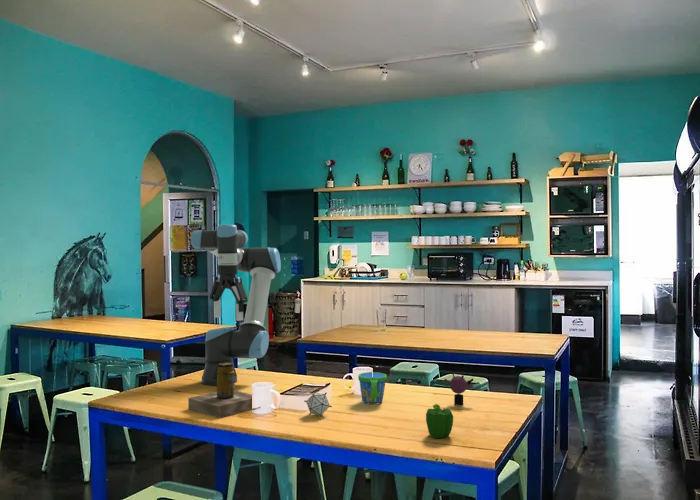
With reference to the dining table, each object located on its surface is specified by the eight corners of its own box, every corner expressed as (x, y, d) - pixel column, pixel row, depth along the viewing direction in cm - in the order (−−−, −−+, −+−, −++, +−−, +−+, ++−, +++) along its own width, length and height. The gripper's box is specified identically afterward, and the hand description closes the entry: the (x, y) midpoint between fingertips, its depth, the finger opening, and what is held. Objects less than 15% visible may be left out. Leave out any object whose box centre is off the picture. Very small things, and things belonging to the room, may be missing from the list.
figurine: (474, 404, 216) (474, 371, 216) (460, 408, 211) (460, 374, 211) (457, 400, 222) (457, 368, 222) (443, 403, 217) (442, 371, 217)
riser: (229, 399, 225) (229, 389, 225) (260, 407, 213) (260, 396, 213) (188, 409, 211) (188, 397, 211) (219, 418, 199) (219, 406, 199)
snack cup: (386, 407, 212) (386, 379, 212) (357, 407, 213) (357, 379, 213) (386, 397, 228) (386, 370, 228) (359, 397, 228) (359, 370, 228)
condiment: (229, 394, 217) (229, 361, 217) (241, 398, 210) (241, 364, 211) (211, 397, 212) (211, 363, 213) (222, 401, 206) (222, 367, 206)
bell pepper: (441, 430, 184) (441, 398, 185) (458, 437, 177) (458, 404, 177) (419, 434, 180) (419, 401, 181) (435, 442, 173) (435, 407, 173)
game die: (323, 425, 203) (341, 402, 203) (309, 422, 196) (327, 398, 196) (309, 408, 209) (326, 386, 208) (294, 404, 202) (312, 381, 202)
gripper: (200, 264, 235) (201, 317, 236) (240, 265, 219) (241, 322, 220) (215, 263, 241) (216, 315, 241) (256, 264, 225) (257, 320, 225)
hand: (228, 319), depth 230 cm, fingers open, 13 cm apart
